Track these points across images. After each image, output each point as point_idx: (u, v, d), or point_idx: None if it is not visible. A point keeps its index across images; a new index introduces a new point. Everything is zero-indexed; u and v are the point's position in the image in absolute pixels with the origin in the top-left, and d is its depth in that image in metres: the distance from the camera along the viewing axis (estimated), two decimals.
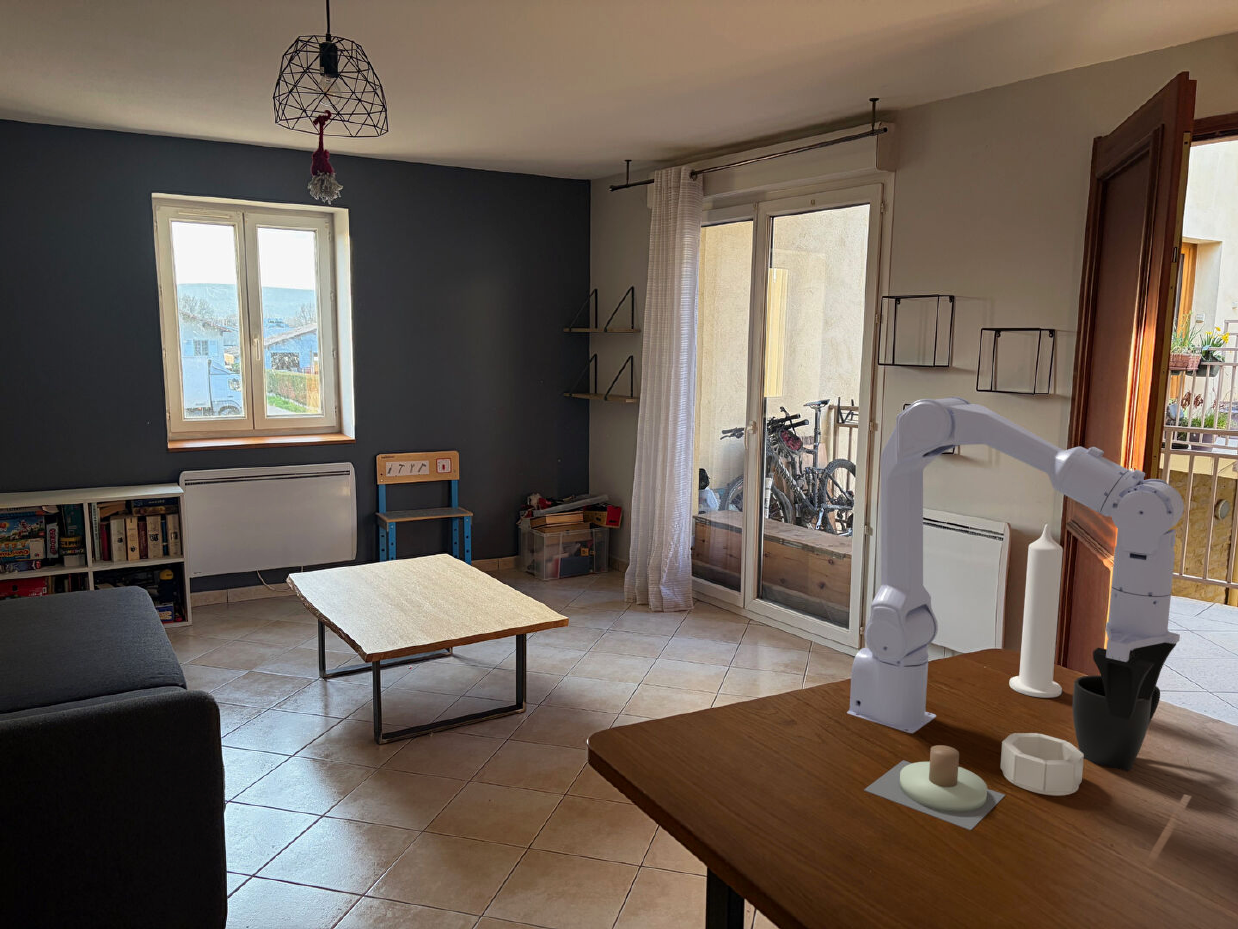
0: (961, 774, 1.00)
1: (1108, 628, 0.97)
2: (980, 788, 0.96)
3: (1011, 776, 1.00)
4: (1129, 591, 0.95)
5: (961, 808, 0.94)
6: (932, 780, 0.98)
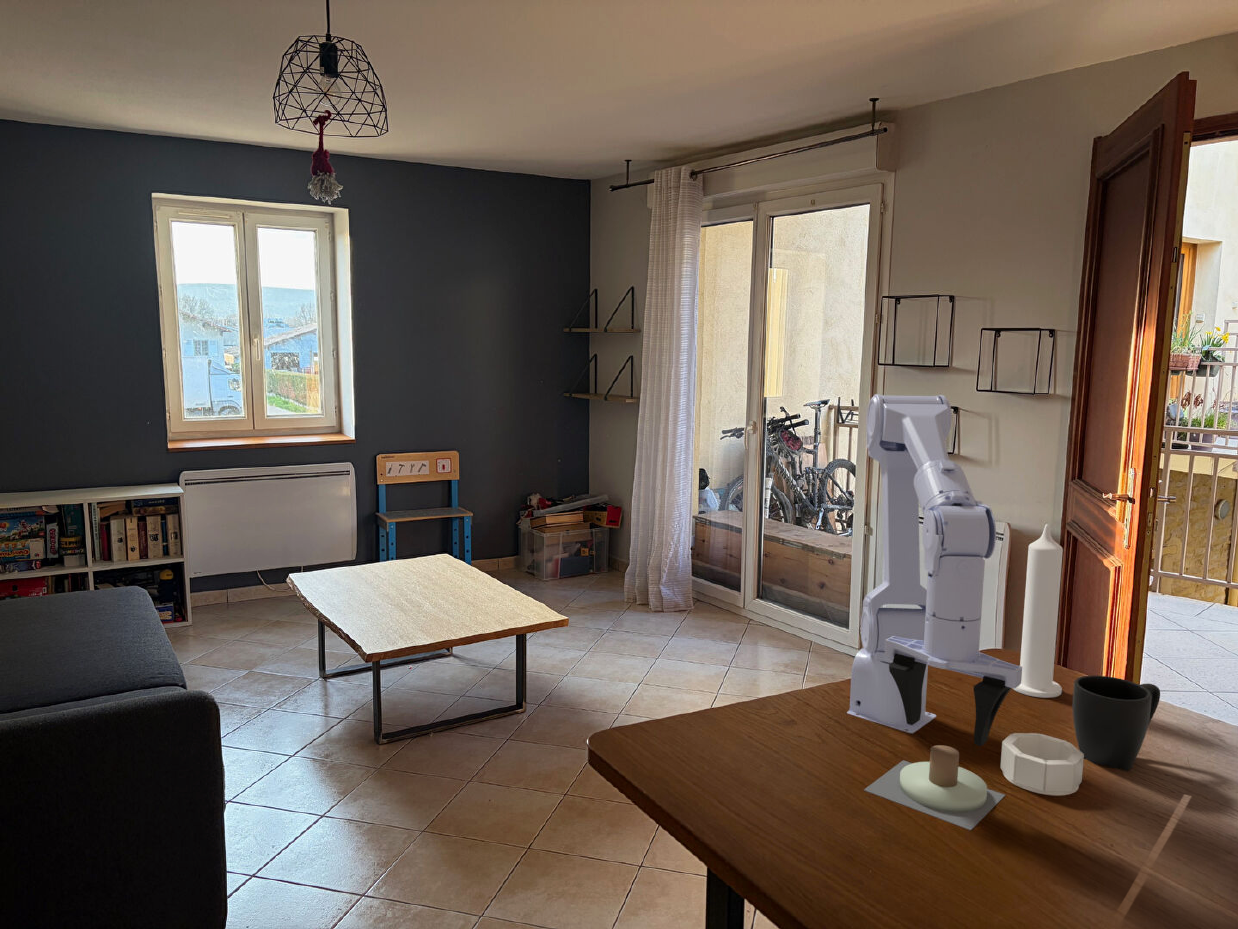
0: (961, 774, 1.00)
1: None
2: (980, 788, 0.96)
3: (1011, 776, 1.00)
4: (926, 609, 0.96)
5: (961, 808, 0.94)
6: (932, 780, 0.98)
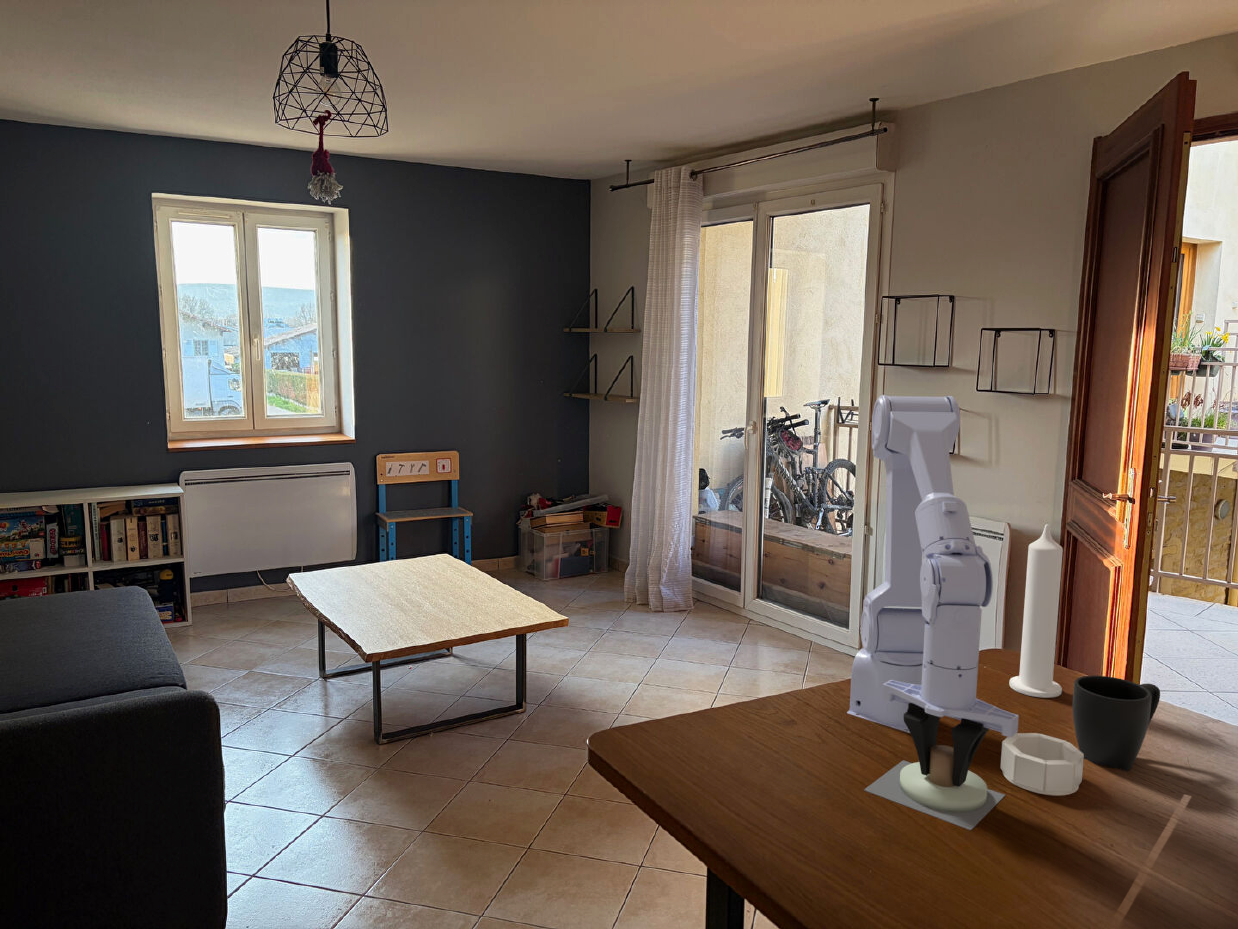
0: None
1: None
2: (980, 788, 0.96)
3: (1011, 776, 1.00)
4: (923, 656, 0.97)
5: (961, 808, 0.94)
6: (932, 780, 0.98)
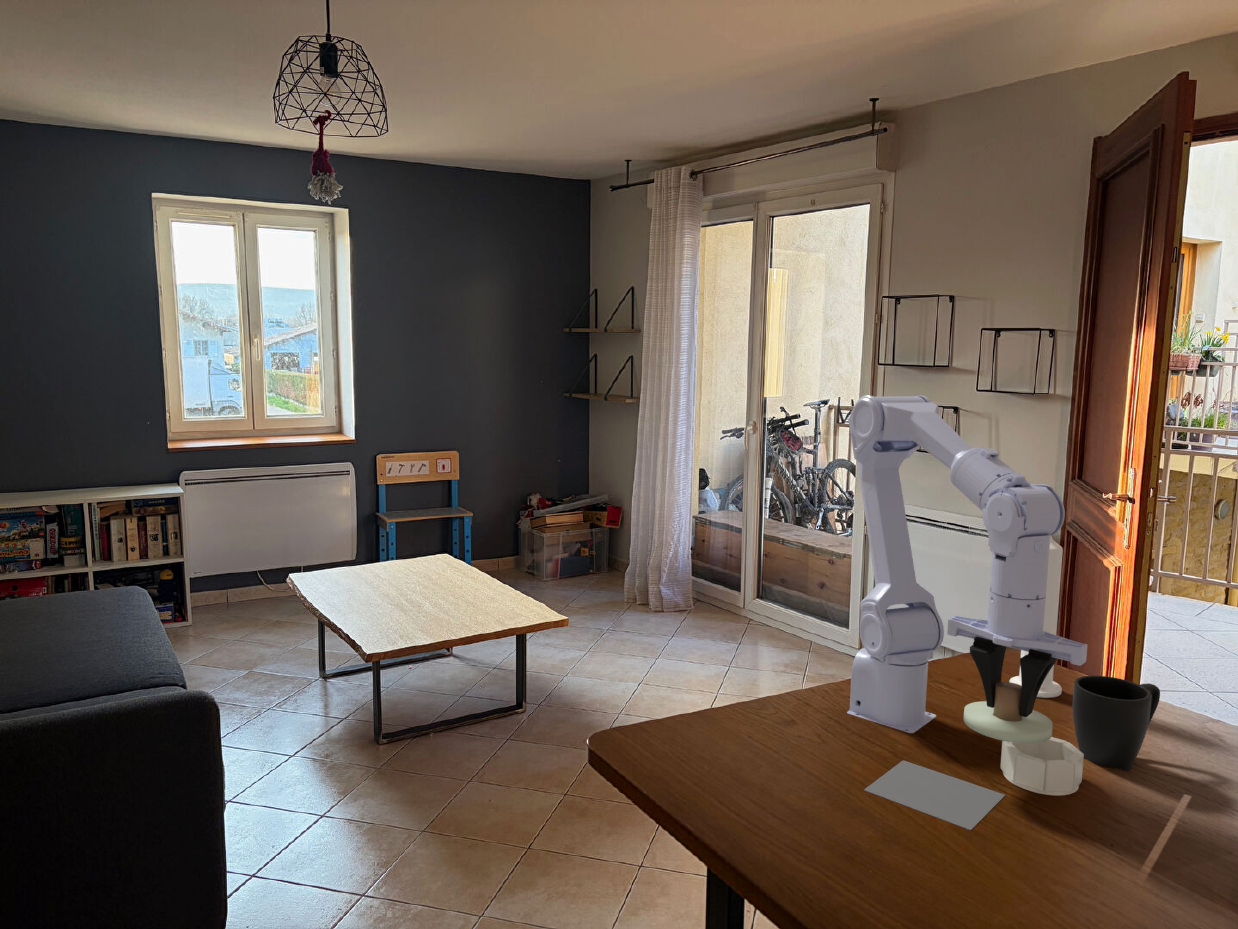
0: None
1: None
2: (1046, 724, 0.97)
3: (1011, 776, 1.00)
4: (994, 591, 0.97)
5: (1026, 739, 0.95)
6: (996, 714, 0.99)
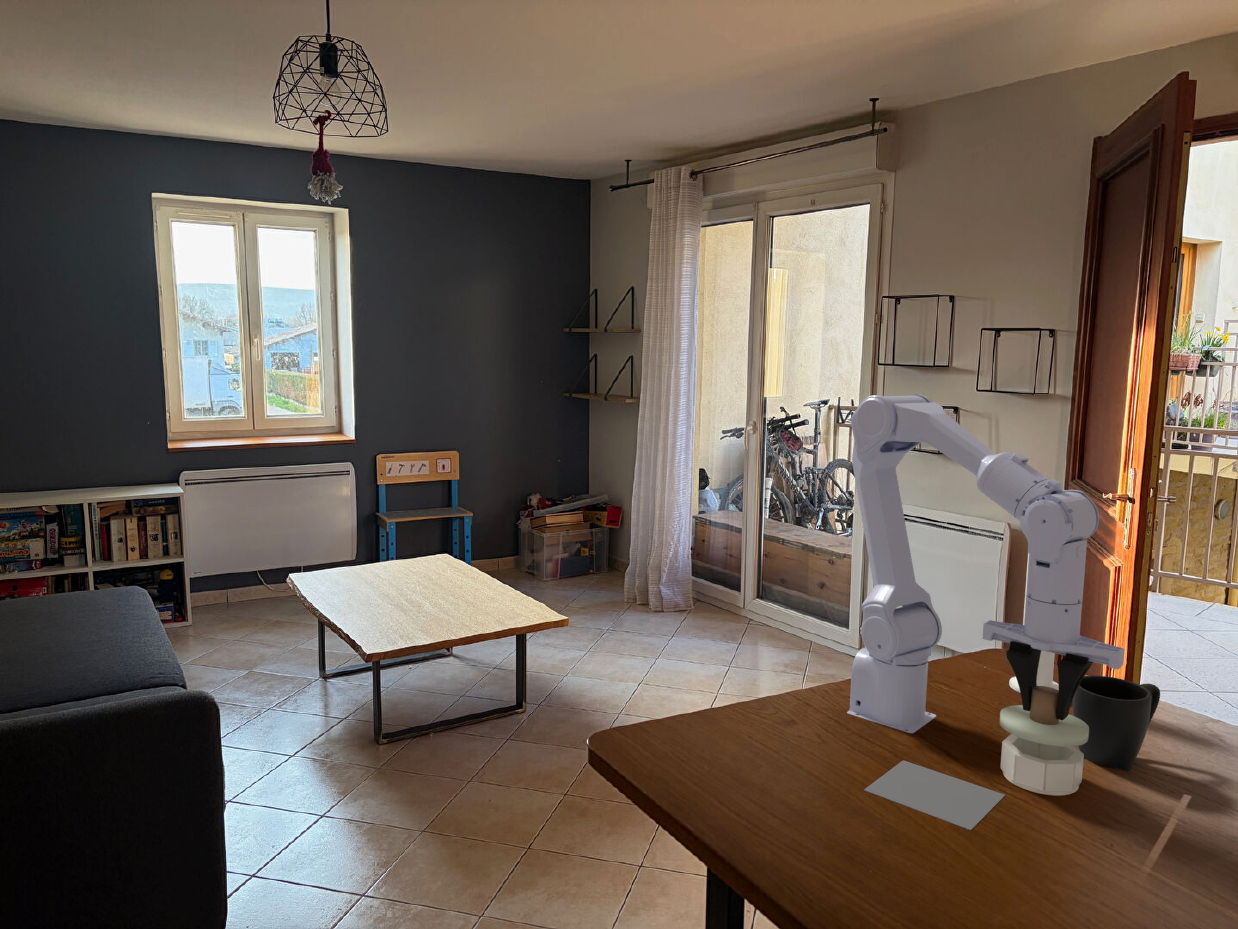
0: None
1: None
2: (1082, 727, 0.98)
3: (1011, 776, 1.00)
4: (1035, 598, 0.98)
5: (1064, 742, 0.96)
6: (1033, 718, 1.00)
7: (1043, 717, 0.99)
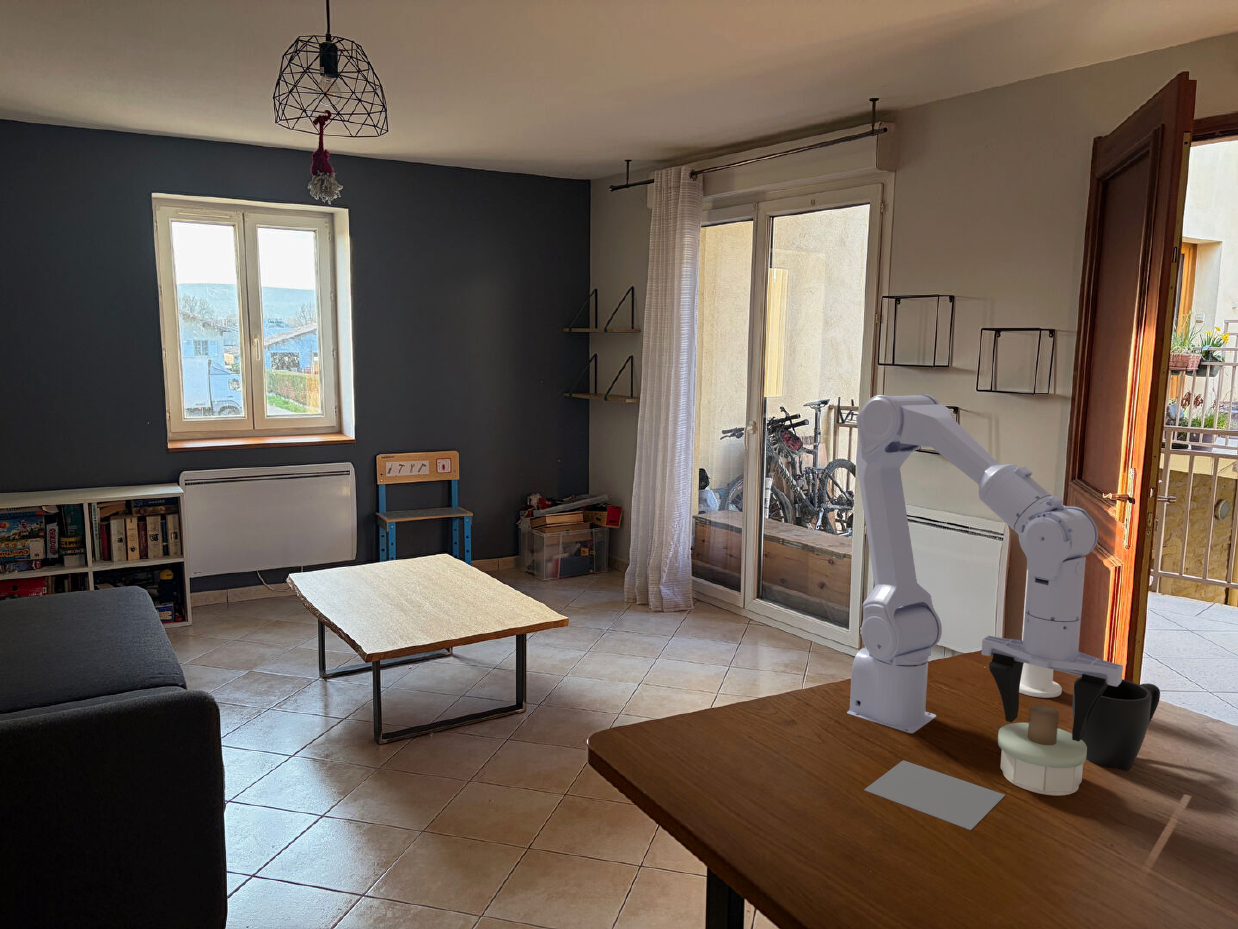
0: (1059, 734, 1.02)
1: None
2: (1080, 747, 0.99)
3: (1011, 776, 1.00)
4: (1034, 615, 0.98)
5: (1061, 764, 0.96)
6: (1031, 738, 1.00)
7: (1041, 738, 0.99)
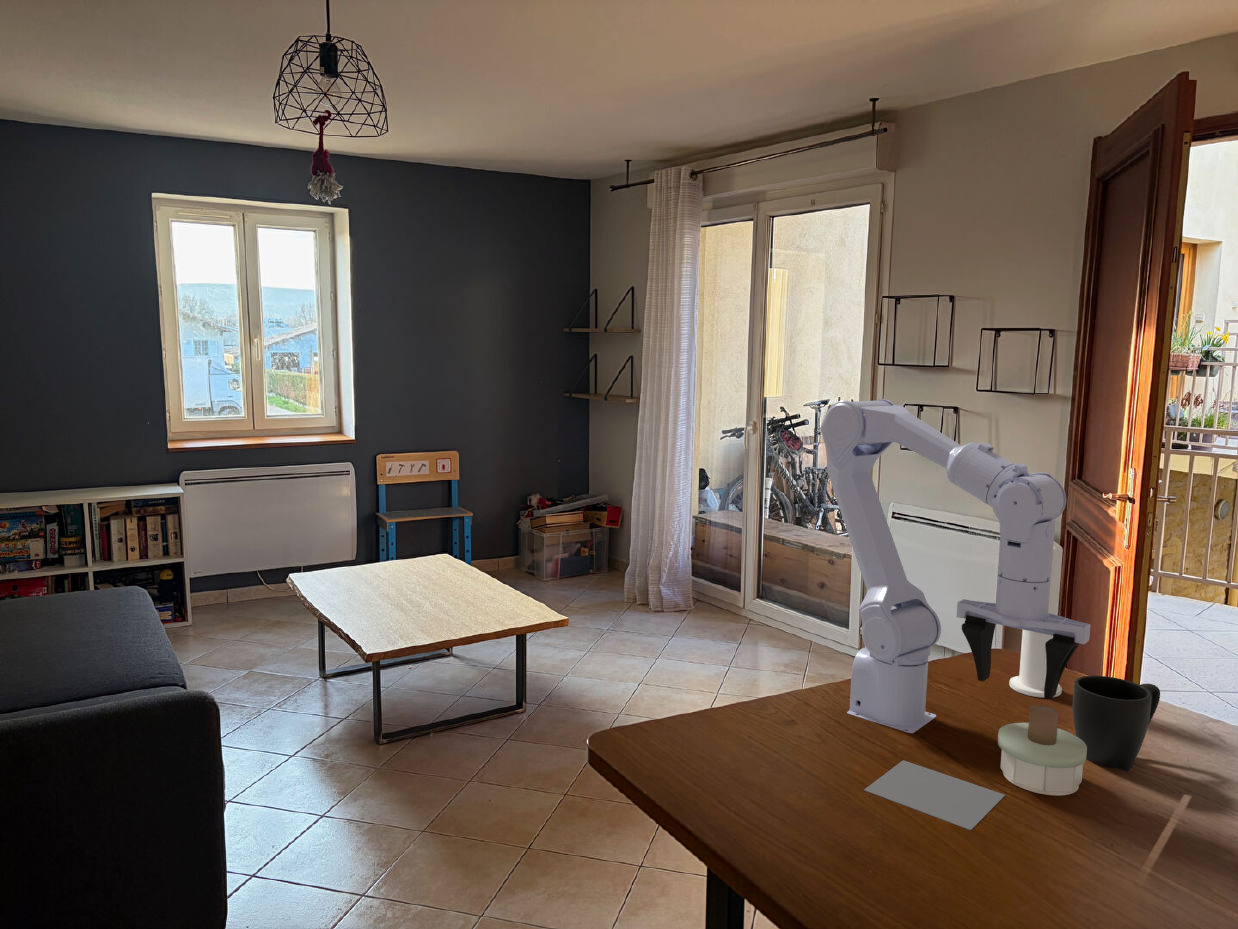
0: (1059, 734, 1.02)
1: None
2: (1080, 747, 0.99)
3: (1011, 776, 1.00)
4: (1007, 577, 1.01)
5: (1061, 764, 0.96)
6: (1031, 738, 1.00)
7: (1041, 738, 0.99)
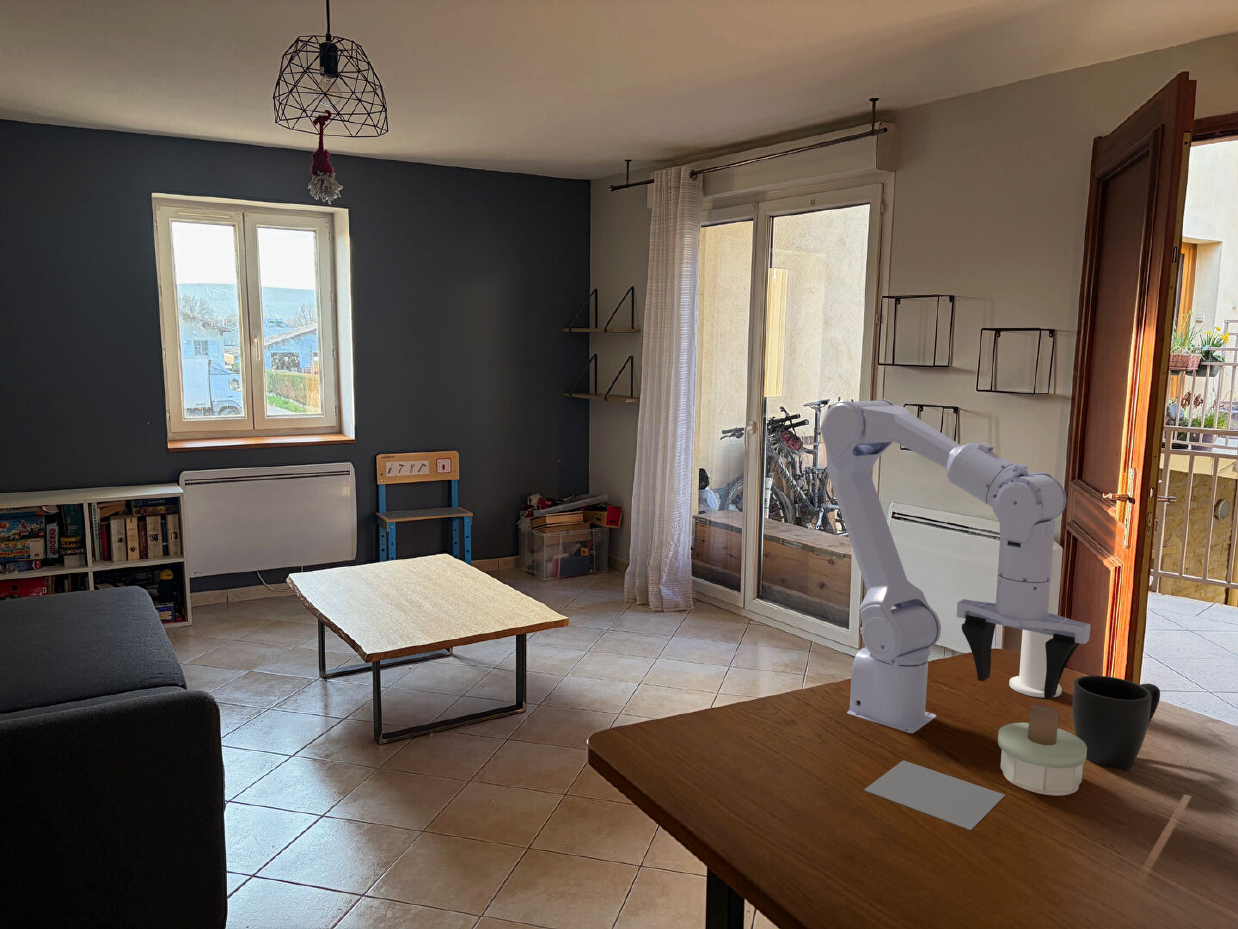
0: (1059, 734, 1.02)
1: None
2: (1080, 747, 0.99)
3: (1011, 776, 1.00)
4: (1007, 577, 1.01)
5: (1061, 764, 0.96)
6: (1031, 738, 1.00)
7: (1041, 738, 0.99)
